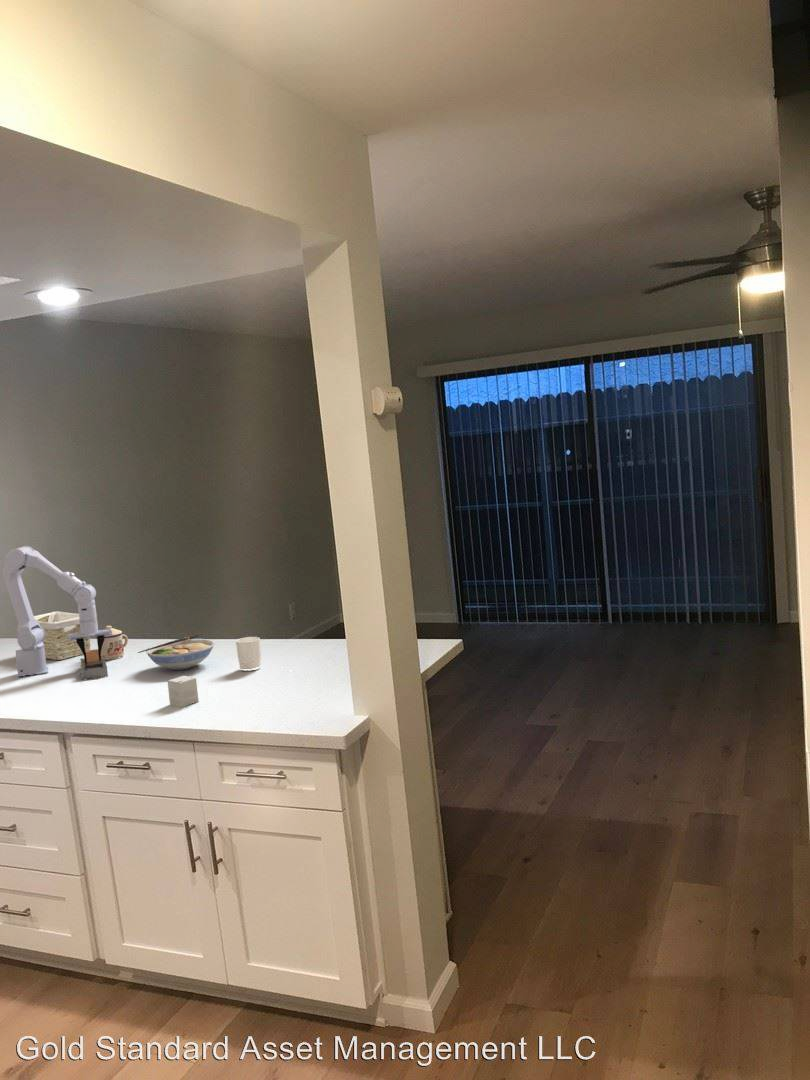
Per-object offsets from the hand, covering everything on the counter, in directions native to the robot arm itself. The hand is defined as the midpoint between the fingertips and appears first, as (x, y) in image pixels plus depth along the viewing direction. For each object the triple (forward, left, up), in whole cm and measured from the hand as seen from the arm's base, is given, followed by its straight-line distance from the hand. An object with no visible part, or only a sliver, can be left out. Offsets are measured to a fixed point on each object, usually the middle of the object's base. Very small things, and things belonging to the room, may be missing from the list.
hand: (92, 658), depth 316 cm
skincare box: (+23, -64, -4) cm, 68 cm away
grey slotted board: (0, -5, -4) cm, 6 cm away
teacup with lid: (+8, +15, -4) cm, 17 cm away
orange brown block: (0, 0, -3) cm, 3 cm away
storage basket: (-11, +34, -4) cm, 36 cm away
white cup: (+48, -36, -4) cm, 60 cm away
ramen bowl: (+28, -19, -4) cm, 34 cm away
